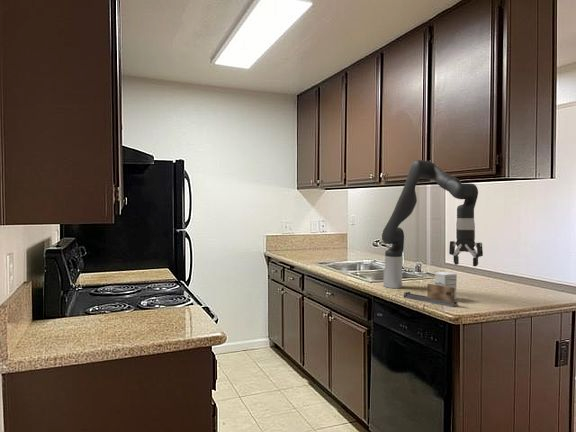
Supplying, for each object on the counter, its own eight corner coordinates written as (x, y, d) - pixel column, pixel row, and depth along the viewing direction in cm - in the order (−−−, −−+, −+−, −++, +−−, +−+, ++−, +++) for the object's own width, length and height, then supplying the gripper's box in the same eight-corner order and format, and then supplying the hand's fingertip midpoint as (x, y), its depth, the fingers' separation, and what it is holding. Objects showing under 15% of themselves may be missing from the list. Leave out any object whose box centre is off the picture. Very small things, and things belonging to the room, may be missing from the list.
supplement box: (434, 297, 210) (434, 272, 210) (446, 296, 213) (446, 271, 212) (444, 301, 203) (444, 274, 203) (456, 299, 206) (457, 273, 205)
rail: (403, 297, 211) (403, 292, 211) (408, 296, 214) (408, 291, 213) (453, 307, 191) (453, 301, 191) (457, 305, 193) (457, 300, 193)
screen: (426, 298, 202) (426, 284, 202) (428, 298, 203) (428, 283, 203) (451, 303, 192) (451, 288, 192) (454, 303, 193) (454, 287, 193)
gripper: (446, 228, 192) (446, 264, 192) (477, 229, 181) (477, 267, 181) (454, 228, 196) (455, 263, 196) (485, 228, 185) (485, 266, 185)
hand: (465, 265), depth 189 cm, fingers open, 8 cm apart
